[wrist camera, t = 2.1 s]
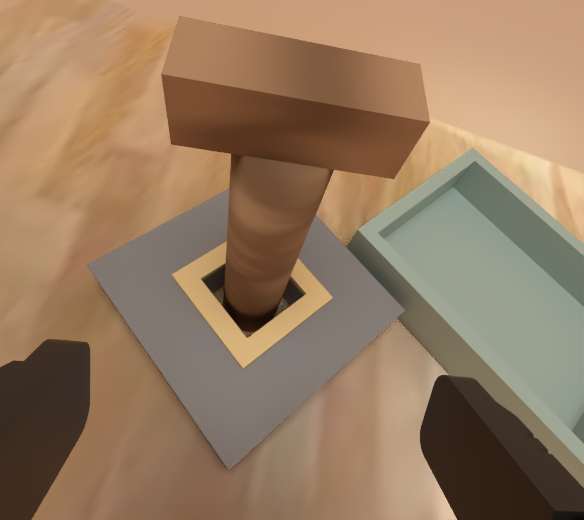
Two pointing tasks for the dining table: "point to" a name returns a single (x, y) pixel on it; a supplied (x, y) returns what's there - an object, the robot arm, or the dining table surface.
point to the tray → (490, 294)
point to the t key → (284, 138)
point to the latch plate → (227, 335)
